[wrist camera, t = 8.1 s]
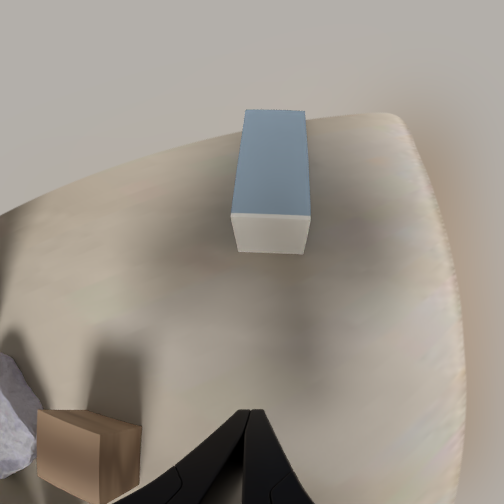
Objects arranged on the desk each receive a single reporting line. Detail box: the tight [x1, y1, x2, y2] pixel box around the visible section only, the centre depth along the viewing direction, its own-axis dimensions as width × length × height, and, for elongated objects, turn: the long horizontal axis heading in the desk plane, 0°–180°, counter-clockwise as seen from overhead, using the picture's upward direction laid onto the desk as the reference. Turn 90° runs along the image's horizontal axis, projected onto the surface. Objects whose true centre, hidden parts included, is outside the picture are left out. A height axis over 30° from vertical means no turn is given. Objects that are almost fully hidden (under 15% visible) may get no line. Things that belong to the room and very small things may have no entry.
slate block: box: [231, 110, 311, 254], centre depth 23 cm, size 5×5×11 cm
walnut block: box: [37, 409, 142, 504], centre depth 14 cm, size 5×5×6 cm
